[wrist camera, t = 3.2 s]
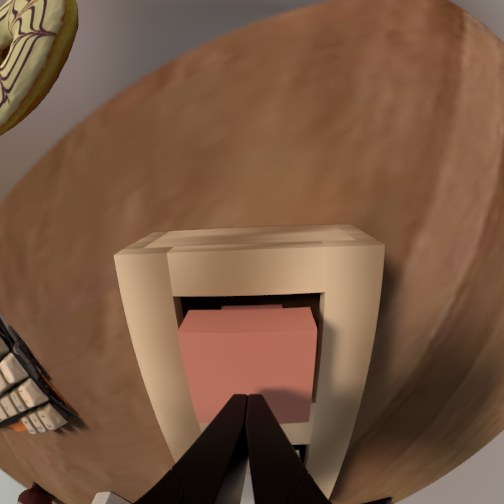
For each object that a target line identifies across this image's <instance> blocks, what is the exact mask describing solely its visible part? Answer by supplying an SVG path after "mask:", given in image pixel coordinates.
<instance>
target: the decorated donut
mask: <svg viewBox="0 0 504 504" xmlns="http://www.w3.org/2000/svg"><path fill="white" fill-rule="evenodd" d="M77 30H78V8H77V3H76V1H75V0H7V1H6V2H5V3H4V4H3V5H2V6H1V7H0V135H2V134H3V133H5V132H6V131H8V130H10V129H11V128H13V127H14V126H16V125H17V124H18V123H19V122H21V121H22V120H23V119H24V118H25V117H26V116H28V115H29V114H30V113H31V112H32V111H33V110H34V109H35V108H36V107H37V106H38V105H39V104H40V103H41V101H42V100H43V99H44V98H45V96H46V95H47V94H48V93H49V91H50V90H51V88H52V86H53V84H54V83H55V82H56V80H57V78H58V77H59V74H60V72H61V70H62V68H63V66H64V64H65V63H66V61H67V59H68V56H69V53H70V51H71V48H72V45H73V42H74V39H75V35H76V32H77Z"/></svg>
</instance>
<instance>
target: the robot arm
mask: <svg viewBox="0 0 504 504" xmlns="http://www.w3.org/2000/svg"><path fill="white" fill-rule="evenodd" d="M248 459H249V467H250V475H251V482H252V490H253V497H254V504H332V503H331V502H330V501H329V500H328V498H327V497H326V496H325V495H324V493H323V492H322V491H321V489H320V488H319V486H318V485H317V484H316V482H315V481H314V479H313V478H312V476H311V474H309V473H308V470H307V468H306V467H305V465H304V464H303V462H302V460H301V459H300V457H299V456H298V454H297V452H296V451H295V449H294V447H293V446H292V444H291V442H290V441H289V439H288V437H287V436H286V434H285V432H284V431H283V429H282V427H281V426H280V424H279V422H278V421H277V419H276V417H275V415H274V414H273V412H272V410H271V408H270V407H269V405H268V403H267V401H266V400H265V398H264V396H263V395H262V394H249V395H247V394H233V395H232V396H231V398H230V399H229V400H228V401H227V403H226V404H225V405H224V406H223V408H222V409H221V410H220V411H219V413H218V414H217V415H216V416H215V418H214V419H213V420H212V421H211V423H210V424H209V425H208V426H207V427H206V429H205V430H204V431H203V432H202V433H201V435H200V436H199V437H198V438H197V439H196V440H195V442H194V443H193V444H192V445H191V446H190V447H189V449H188V450H187V451H186V452H185V453H184V454H183V456H182V457H181V458H180V459H179V460H178V461H177V462H176V463H175V465H174V466H173V467H172V470H171V469H170V470H169V471H168V472H167V473H166V474H165V475H164V476H163V478H162V479H161V480H160V481H159V482H158V483H157V484H156V485H155V486H154V487H152V488H151V489H150V490H149V491H148V492H147V493H146V494H144V495H143V496H142V497H141V498H140V499H138V500H137V501H136V502H134V503H133V504H240V502H241V497H242V492H243V487H244V481H245V476H246V471H247V465H248ZM391 501H392V500H391V498H387V499H384V500H380V501H376V502H372V503H368V504H390V503H391Z"/></svg>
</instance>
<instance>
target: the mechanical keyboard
mask: <svg viewBox="0 0 504 504" xmlns="http://www.w3.org/2000/svg"><path fill="white" fill-rule="evenodd" d="M75 416H79V414H78V413H77V412H76V411H75V410H74V409H73V408H72V407H71V406H70V405H69V404H68V403H67V401H66V400H65V399H64V398H63V397H62V396H61V395H60V394H59V393H58V392H57V390H56V389H55V388H54V387H53V386H52V385H51V384H50V382H49V381H48V380H47V379H46V378H45V376H44V375H43V374H42V372H41V370H40V369H39V368H38V367H37V365H36V364H35V361H34V359H33V358H31V357H30V353H29V351H28V349H27V347H26V344H25V343H24V341H23V340H21V339H20V338H19V337H18V334H17V333H16V331H15V330H14V329H13V328H12V327H11V326H10V325H8V324H7V323H6V321H5V319H4V318H3V316H2V314H1V313H0V427H5V426H9V427H10V428H14V429H15V431H16V432H22V431H26V430H28V431H29V432H30V433H31V434H37V433H39V432H46V431H48V430H56V429H57V428H59V427H60V426H62V425H64V424H66V423H68V421H67V419H69V418H72V417H75Z"/></svg>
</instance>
